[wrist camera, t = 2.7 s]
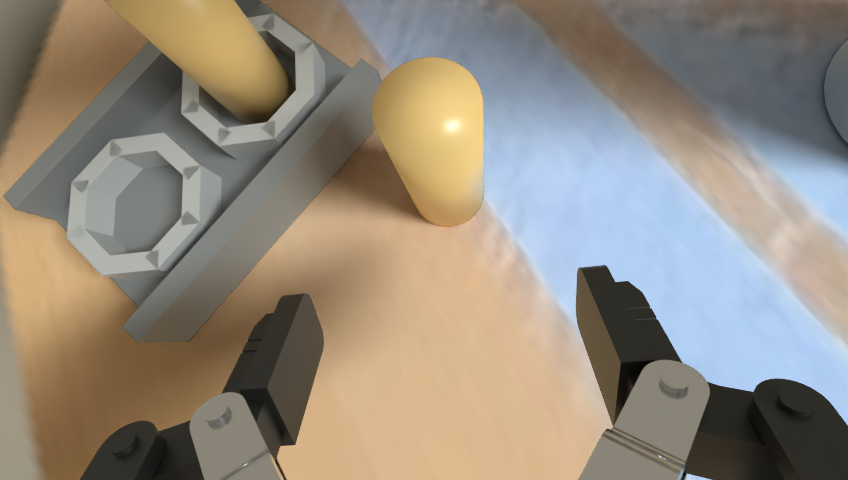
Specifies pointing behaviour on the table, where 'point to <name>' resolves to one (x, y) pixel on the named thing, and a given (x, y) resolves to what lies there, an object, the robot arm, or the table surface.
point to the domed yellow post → (434, 136)
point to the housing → (199, 155)
